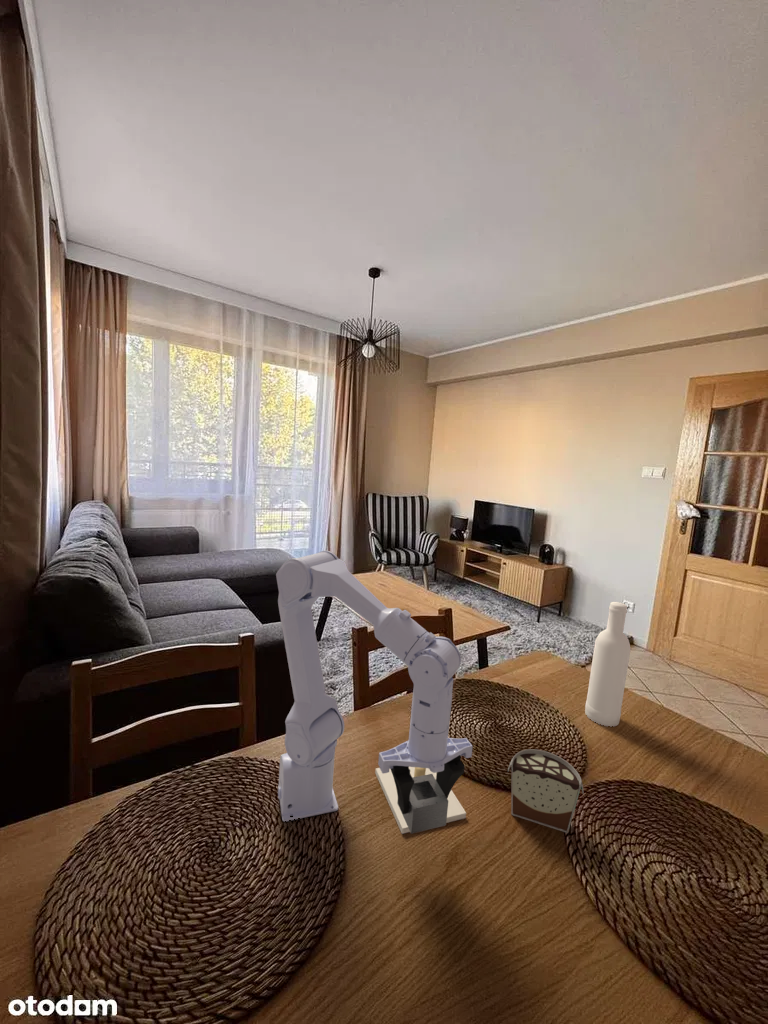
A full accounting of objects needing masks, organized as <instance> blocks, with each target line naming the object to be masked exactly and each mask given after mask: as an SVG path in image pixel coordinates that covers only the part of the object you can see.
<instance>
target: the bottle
mask: <svg viewBox="0 0 768 1024" xmlns="http://www.w3.org/2000/svg"><path fill="white" fill-rule="evenodd" d="M609 604H610V605H609V607H608V609H609V610H608V617H607V623H606V628H605V629H604V630H601V631H600V632H599V633H598V635H597V637H596V638H595V640H594V641H595V642H594V648H593V655H592V660H591V661H592V662H591V668H590V674H589V682H588V689H587V696H586V701H585V706H584V713H585V716H586V715H587V716H586V717H587V718H588V719H589V720H590V719H591V720H590V721H592V722H593V721H594V723H595V722H596V723H595V724H597V723H598V724H597V725H600V724H601V725H600V726H603V725H604V727H608V726H610V727H609V728H611V727H612V726H613V727H616V726H618V725H619V723H620V720H621V714H622V707H623V701H624V695H625V694H624V692H625V687H626V680H627V675H628V669H629V668H628V667H629V661H630V656H631V649H632V648H631V645H630V644H631V643H630V639H629V638H628V637H627V636H626V634H625V633H624V628H625V624H626V623H625V622H626V617H627V616H626V615H627V612H628V610H627V609H628V606H627V605H626V604H625V603H623V602H620V601H611V602H610V603H609Z"/></svg>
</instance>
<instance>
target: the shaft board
mask: <svg viewBox="0 0 768 1024" xmlns="http://www.w3.org/2000/svg"><path fill="white" fill-rule="evenodd" d="M409 769H410V774H411V776H412V777H417V776H423V775H428V774H433V776H434V778H435V779H436V775H437V772H436V773H433V772H431V771H430V769H429V768H419V767H409ZM374 773H375V776H376V778H377V781H378V782H379V784H380V788H381V790H382V791H383V794H384V796H385V798H386V801H387V803H388V805H389V808H390V810H391V812H392V814H393V817H394V819H395V821H396V822H395V823H396V824H397V826H398V828H399V831H400V833H401V834H402V835H403V834H407V833H411V832H410V830H409V828H408V826H407V824H406V821H405V819H404V817H403V815H402V812H401V810H400V808H399V806H398V804H397V801H398V795H397V789H396V785H395V781H394V778H393V775H392V772H391V769H389V772H388V773H382V771H381V769H380V767H377V768H376V767H375V771H374ZM447 799H448V810H447V820H446V824H447V823H452V822H455V821H460V820H464V819H466V818H467V812H466V811H465V809H464V807H463V805H462V804H461V802H460V801H459V799H458V798H457V796H456V795H455V793H454V792H453V790H452V789H451V791H450V793H449V796H448V798H447Z"/></svg>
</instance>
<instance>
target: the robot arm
mask: <svg viewBox="0 0 768 1024" xmlns="http://www.w3.org/2000/svg"><path fill="white" fill-rule="evenodd" d="M275 576H276V577H275V578H276V583H277V589H278V598H277V604H278V606H277V607H278V611H279V612H278V613H279V616H280V624H281V629H282V636H283V641H284V648H285V652H286V653H285V654H286V658H287V663H288V669H289V675H290V681H291V682H290V683H291V687H292V694H293V699H294V702H293V705H292V706H291V708H290V711H289V713H288V714H287V716H286V718H285V721H284V723H285V736H284V747H285V751H286V753H283V754H281V755H280V756H279V769H278V770H279V772H278V773H279V774H278V786H277V797H278V798H277V799H278V800H279V805H280V812H281V821H282V822H285V821H286V822H290V821H289V820H291V821H295V820H299V819H298V818H300V819H303V818H308V817H313V816H319V815H322V814H327V813H333V812H337V811H338V810H339V804H338V801H337V797H336V795H335V791H334V787H333V783H334V772H335V771H334V769H335V754H336V747H337V744H338V739H339V738H340V737H342V735H343V734H344V732H345V721H344V718H343V717H344V716H343V715H342V714H341V712H340V710H339V708H338V704H337V699H336V698H335V697H333V696H331V695H329V694H327V693H326V688H325V687H326V686H325V680H324V675H323V670H322V664H321V658H320V651H319V646H318V640H317V634H316V628H315V622H314V618H313V617H314V616H313V610H312V607H313V606H314V605H315V603H316V601H317V600H318V599H319V598H321V597H322V598H325V597H327V598H328V597H329V598H331V597H333V598H334V597H335V598H336V599H338V601H341V602H342V603H343V604H345V606H347V607H349V608H350V610H352V611H354V612H355V613H356V614H358V616H360V617H361V618H363V619H364V620H365V621H367V622H368V623H369V624H370V625H372V626H373V633H374V637H375V639H376V640H378V641H379V642H380V643H381V644H382V645H383V646H384V647H386V648H387V649H388V651H389V652H391V653H392V654H393V655H395V656H396V658H398V659H399V660H400V661H401V662H402V663H404V664H405V665H406V666H407V670H408V675H409V677H410V680H411V681H412V683H413V690H412V699H411V701H412V702H411V711H410V721H409V722H410V724H409V733H408V740H406V741H404V742H402V743H400V744H398V745H397V746H394V747H392V748H390V749H386V750H384V751H379V753H378V763H377V765H378V766H379V767H378V768H380V769H381V771H382V773H388V772H389V769H391V772H392V775H393V778H394V781H395V785H396V789H397V795H398V805H399V807H400V809H401V811H402V814H407V812H408V808H409V798H410V793H411V789H412V786H413V784H414V780H413V778H412V776H411V774H410V769H409V767H419V768H429V769H430V771H431V772H433V773H436V772H437V775H436V781H437V783H438V784H439V786H440V788H441V789H442V791H443V793H444V794H445V796H446V798H448V796H449V793H450V791H451V790H452V789H453V787H454V786H455V783H456V782H457V781H458V780H459V779H460V778H461V777H462V776H463V775H464V773H465V764H464V763H463V762H462V759H461V758H462V757H463V758H465V759H469V758H472V755H473V745H472V743H471V742H470V741H469V739H468V738H467V737H464V738H453V737H449V730H450V723H451V722H450V721H451V711H452V702H453V687H454V678H453V677H454V675H455V674H456V673H457V672H458V670H459V668H460V666H461V663H462V662H461V661H462V660H461V657H462V656H461V653H460V651H459V649H458V647H457V646H456V645H455V644H454V643H453V641H452V639H450V638H448V637H445V636H436V635H435V634H434V633H432V632H431V631H430V632H429V631H428V630H426V628H424V627H423V626H422V625H420V624H419V623H418V622H417V621H416V620H414V619H413V618H411V616H412V614H411V613H410V611H408V610H407V609H403V610H402V609H401V608H399V607H392V608H391V607H390V608H389V607H387V606H386V605H385V604H384V603H383V602H382V601H380V599H378V597H376V596H375V595H374V593H372V591H370V590H369V589H368V588H367V587H366V586H365V585H364V584H363V583H362V582H361V581H359V579H357V577H355V575H354V574H352V572H350V571H349V568H348V566H347V564H346V562H345V561H344V560H343V559H341V558H339V557H338V556H337V555H336V554H335V553H334V552H332V551H330V550H322V551H319V552H317V553H314V554H313V553H312V554H308V555H304V556H301V557H297V558H294V557H292V558H289V559H287V560H285V561H284V562H283V564H282V565H280V568H279V569H278V570H277V572H276V574H275ZM290 816H293V817H290ZM294 819H295V820H294Z"/></svg>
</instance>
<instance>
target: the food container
mask: <svg viewBox="0 0 768 1024" xmlns="http://www.w3.org/2000/svg"><path fill="white" fill-rule="evenodd" d="M510 769H511V777H510V778H511V782H510V783H511V785H510V787H511V788H510V789H511V790H510V791H511V793H510V794H511V795H510V796H511V798H510V801H511V804H510V805H511V807H510V808H511V809H510V810H511V811H510V813H511V814H510V815H512V816H514V817H517V818H519V819H524V820H526V821H530V822H532V823H535V824H539V825H541V826H545V827H547V828H551V829H554V830H556V831H560V832H563V833H566V834H569V831H570V827H571V824H572V820H573V817H574V814H575V810H576V806H577V802H578V799H579V795H580V792H582V794H583V795H584V785H583V781H582V777H581V776H580V774H579V772H578V771H577V770H576V769H575V768H574V766H573V765H572V764H570V763H569V762H568V761H567V760H565V759H563V758H562V757H561V756H558V755H556V754H554V753H552V752H548V751H546V750H540V749H536V748H535V749H533V748H532V749H531V748H530V749H528V748H527V749H523V750H520V751H519V752H517V753H515V755H514V756H513V757H512V758H511V761H510V762H509V766H508V768H507V772H509V771H510Z"/></svg>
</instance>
